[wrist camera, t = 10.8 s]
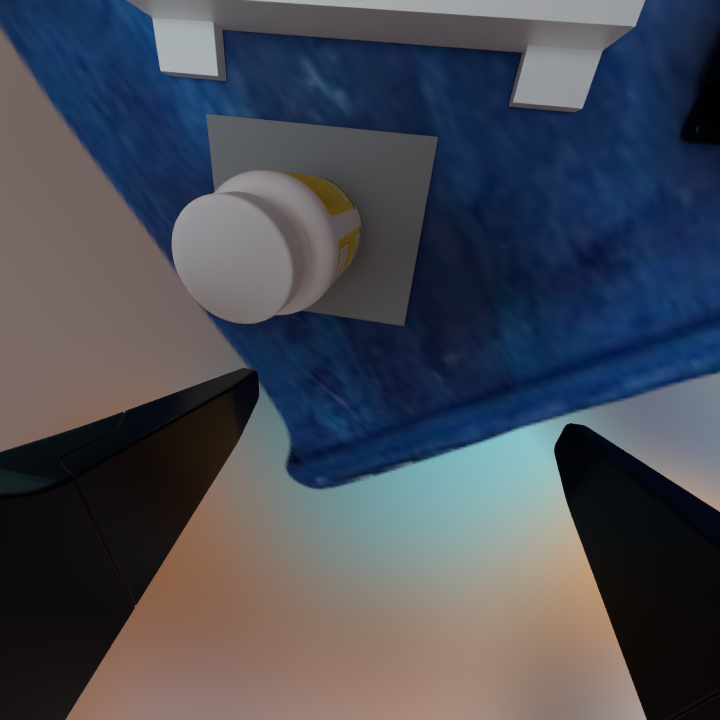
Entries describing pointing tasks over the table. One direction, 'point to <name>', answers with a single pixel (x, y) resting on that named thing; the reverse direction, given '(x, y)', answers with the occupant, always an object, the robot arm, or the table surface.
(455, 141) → the table surface
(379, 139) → the slate mat
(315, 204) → the supplement bottle
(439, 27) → the white barrier
